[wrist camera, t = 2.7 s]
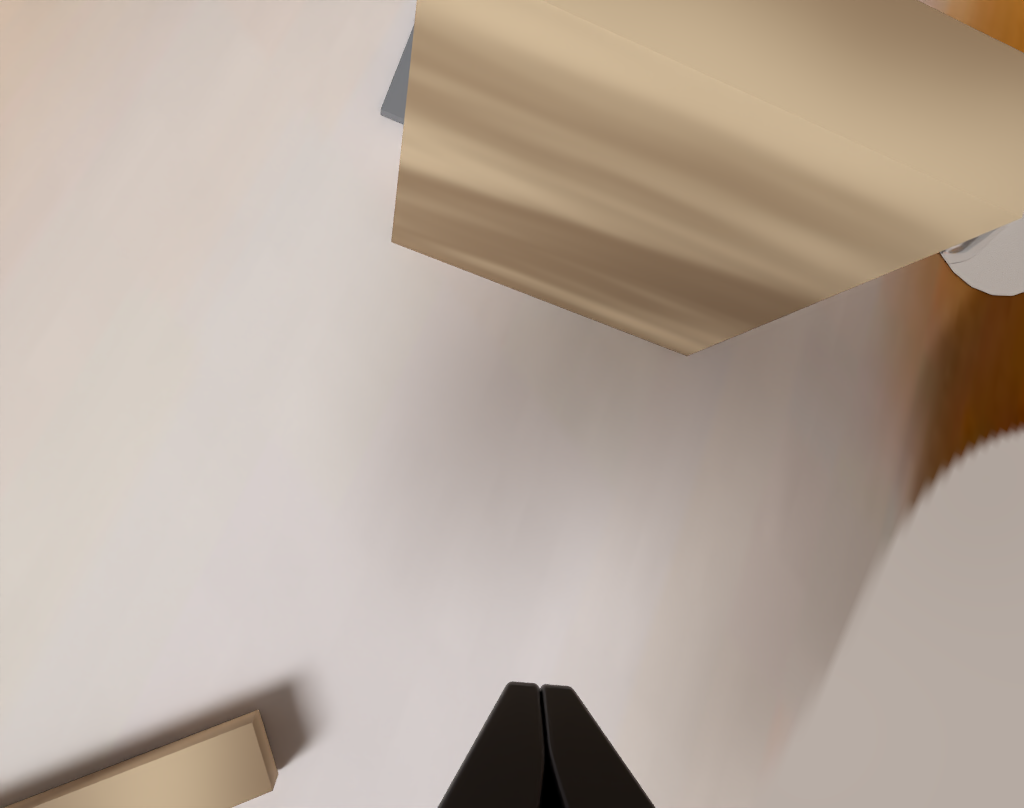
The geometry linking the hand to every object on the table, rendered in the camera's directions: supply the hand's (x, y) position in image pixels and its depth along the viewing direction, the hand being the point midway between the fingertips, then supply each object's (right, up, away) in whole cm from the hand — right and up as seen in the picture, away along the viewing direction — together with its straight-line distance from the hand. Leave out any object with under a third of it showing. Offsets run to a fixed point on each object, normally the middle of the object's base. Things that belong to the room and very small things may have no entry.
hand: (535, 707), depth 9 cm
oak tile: (+1, +8, +11) cm, 14 cm away
